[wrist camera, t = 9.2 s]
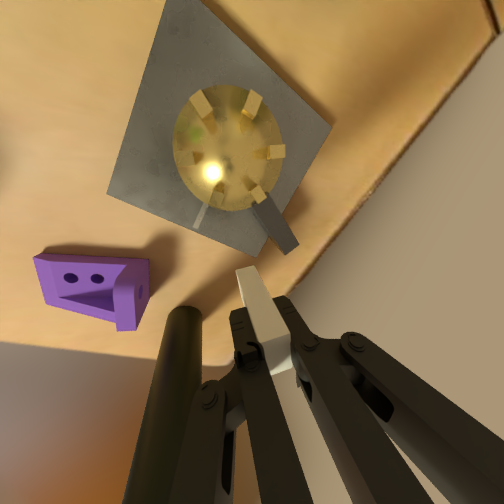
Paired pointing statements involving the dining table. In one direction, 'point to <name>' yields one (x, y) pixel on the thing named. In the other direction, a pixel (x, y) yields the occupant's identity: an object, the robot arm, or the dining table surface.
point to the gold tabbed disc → (232, 155)
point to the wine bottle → (167, 409)
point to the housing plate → (170, 105)
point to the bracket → (96, 286)
